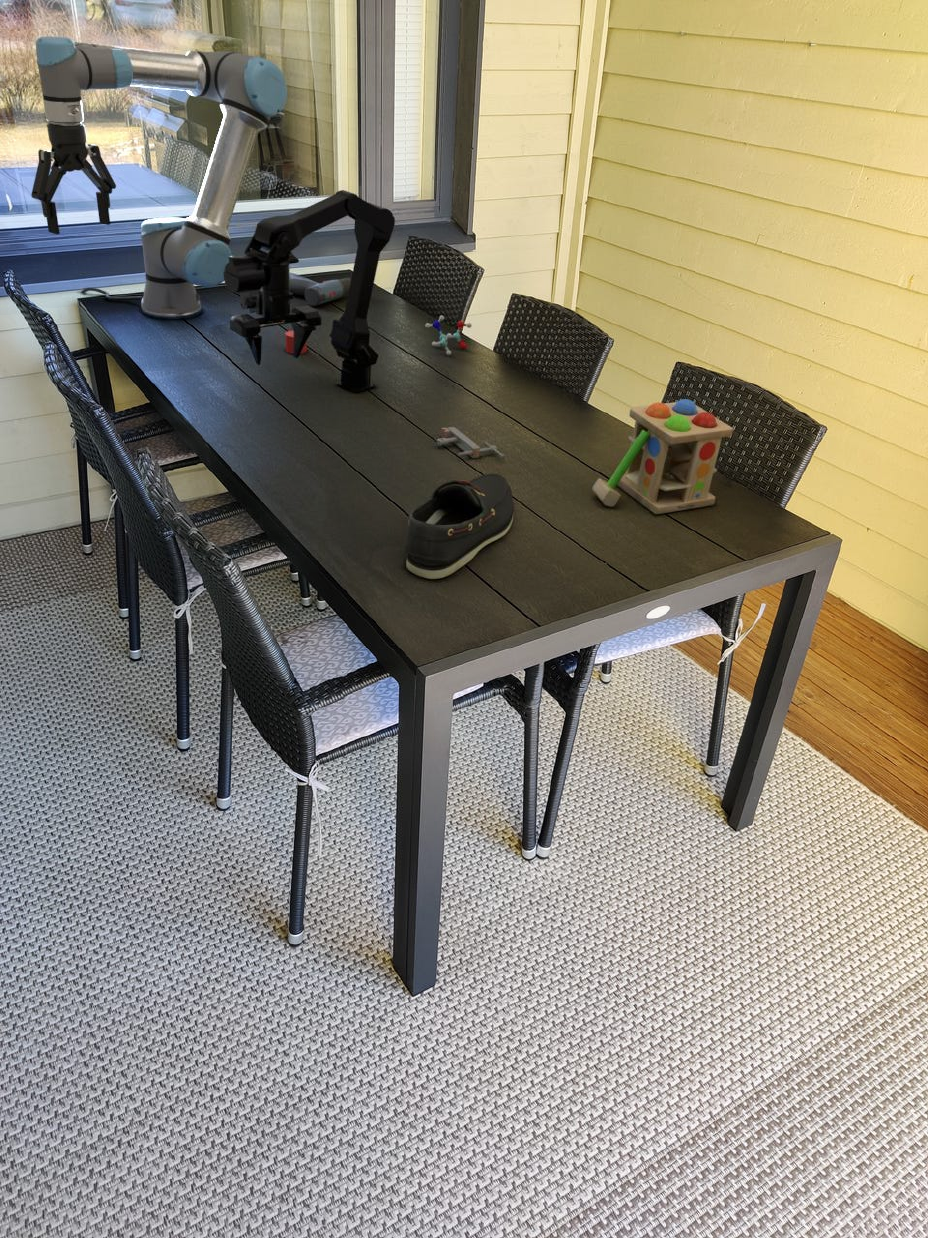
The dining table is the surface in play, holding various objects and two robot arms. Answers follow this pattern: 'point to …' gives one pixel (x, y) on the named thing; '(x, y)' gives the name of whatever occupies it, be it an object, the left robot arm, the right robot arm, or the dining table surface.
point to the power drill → (319, 289)
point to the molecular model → (448, 335)
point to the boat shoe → (457, 524)
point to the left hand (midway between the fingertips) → (80, 228)
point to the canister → (289, 343)
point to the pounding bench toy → (668, 458)
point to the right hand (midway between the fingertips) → (277, 360)
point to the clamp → (464, 443)
